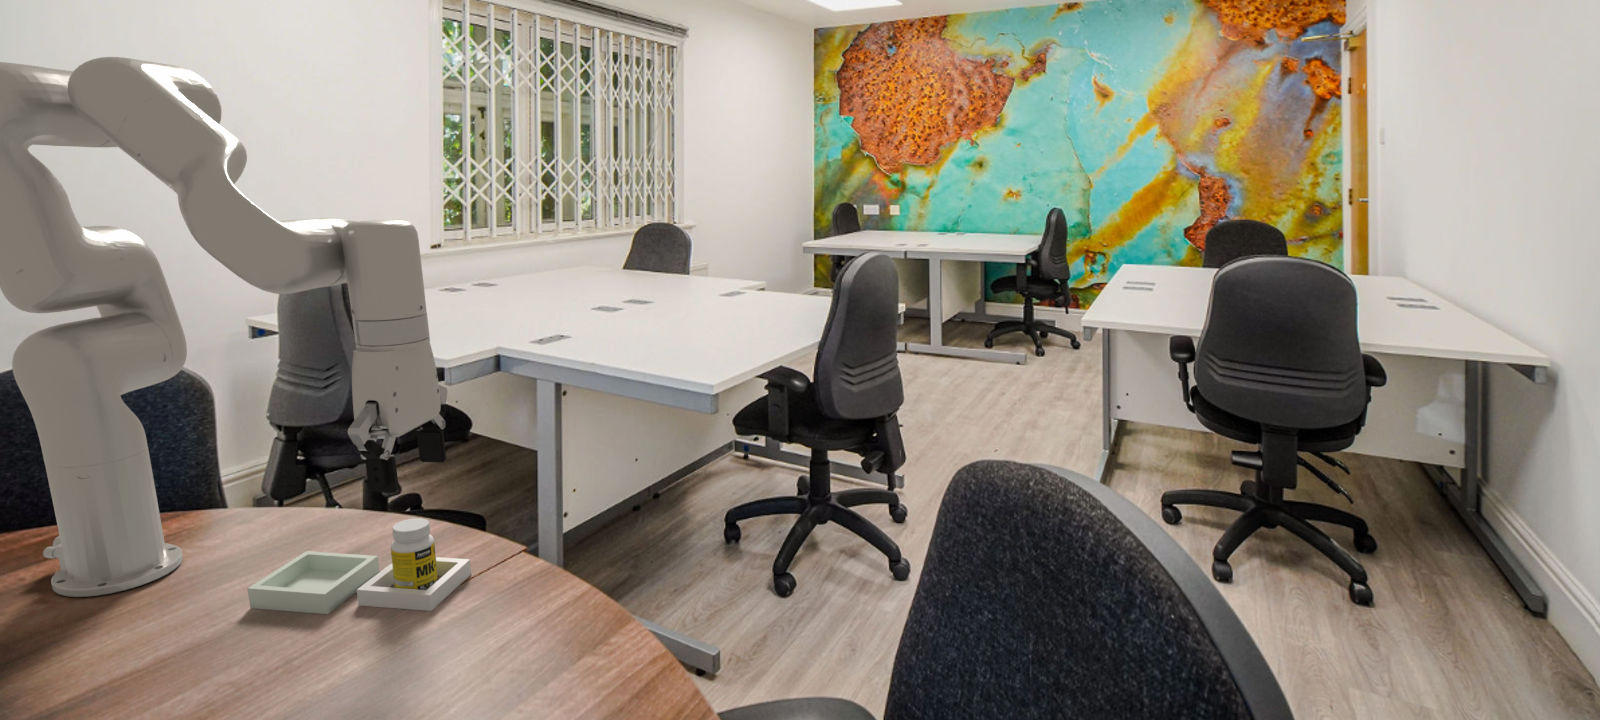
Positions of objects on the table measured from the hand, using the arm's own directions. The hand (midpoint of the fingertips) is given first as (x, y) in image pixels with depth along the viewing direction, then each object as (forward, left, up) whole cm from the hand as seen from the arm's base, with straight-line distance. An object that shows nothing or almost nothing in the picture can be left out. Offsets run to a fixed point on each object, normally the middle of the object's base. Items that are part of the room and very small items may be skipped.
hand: (410, 475), depth 96 cm
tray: (-12, -2, -15) cm, 19 cm away
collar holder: (-1, 0, -15) cm, 15 cm away
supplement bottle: (-1, 0, -15) cm, 15 cm away
